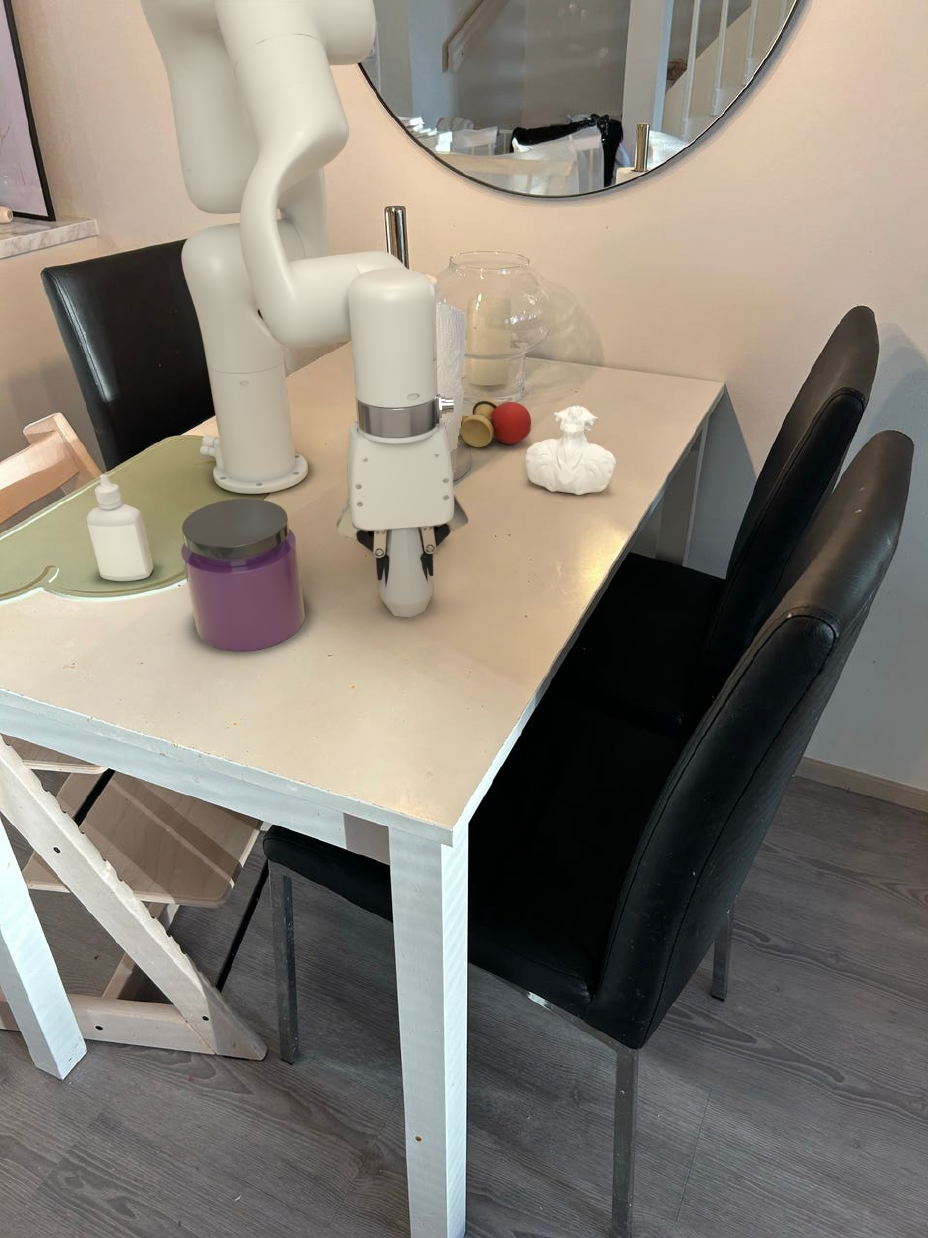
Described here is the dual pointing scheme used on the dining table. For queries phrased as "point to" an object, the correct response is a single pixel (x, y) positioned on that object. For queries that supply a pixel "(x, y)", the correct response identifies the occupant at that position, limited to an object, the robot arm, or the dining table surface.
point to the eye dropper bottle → (118, 536)
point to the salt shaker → (405, 574)
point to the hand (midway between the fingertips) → (405, 581)
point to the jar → (242, 574)
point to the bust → (570, 457)
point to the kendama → (495, 423)
